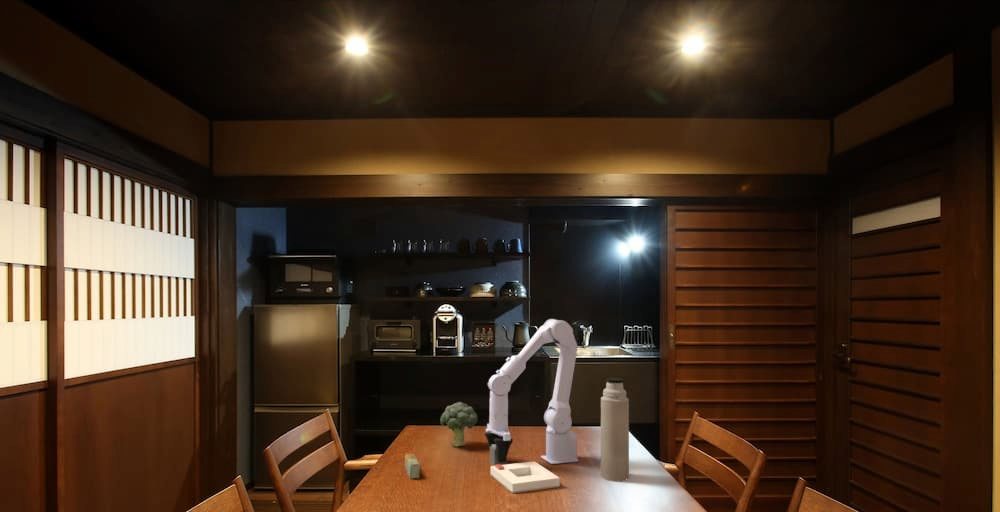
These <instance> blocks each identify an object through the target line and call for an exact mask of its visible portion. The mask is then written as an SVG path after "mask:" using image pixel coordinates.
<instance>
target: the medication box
mask: <svg viewBox="0 0 1000 512" xmlns="http://www.w3.org/2000/svg"><path fill="white" fill-rule="evenodd" d="M404 457H405V458H404V468H406V469H405V471H406V470H407V471H406V473H407V475H408V477H410V478H409V479H410V480H414V479H413V478H418V479H420V470H421V469H420V467H421V465H420V463H419V460H418V459H417V457H416V455H415V454H414V453H405V456H404ZM411 478H412V479H411Z"/></svg>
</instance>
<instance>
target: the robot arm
mask: <svg viewBox="0 0 1000 512" xmlns="http://www.w3.org/2000/svg"><path fill="white" fill-rule="evenodd" d="M575 338H576V337H575V335H574V329H573V327H572V326H571V325H570V324H569V323H568V322H567V321H565V320H561V319H560V320H559V319H556V318H555V319H554V318H549V319H547V320H546V321H545V322H544V323H543V325H541V326H540V327H539V328H538V329H537V330H536V332H535V333H534V334H533V336H532V337H531V338H530V340H529V341H528V342H527V343H526V344H525V346H524V347H523V348H522V350H521V351H519V353H518V354H517V355H516V354H515V355H511V357H510V356H508V357H507V358H506V359H505V361H506V362H505V363H504V364H503V365H502V367H500V369H497V370H496V371H495V373H496V374H493V375H491V377H490V378H489V379H488V382H487V387H488V389H489V390H490V391H489V409H488V410H489V417H488V418H489V419H488V421H489V422H488V423H487V424H486V428H485V432H484V436H485V439H486V441H487V444H488V449H489V451H490V446H492V444H496V448H497V455H498V461H499V462H506V458H507V457H508V454H509V449H510V447H511V445H512V443H513V441H514V439H513V438H511V437H512V436H511V433H510V429H509V427H508V426H509V419H508V418H509V417H508V415H509V399H508V396H509V394H508V393H509V392H510V391H511V387H512V384H513V383H514V382H515V381H516V380H517V378H519V376H520V375H521V374H522V373H523V372H524V371H525V369H527V367H526V366H527V365H526V364H527V362H528V360H529V359H530V358H531V357H533V356H534V354H535V353H536V352H537V351H538V350H539V349H540V348H541V347H542V346H543V345H545V344H549V343H555V345H556V347H558V348H559V358H558V361H557V363H558V364H557V369H556V376H555V380H554V381H555V382H554V387H553V393H552V398H551V400H550V401H549V402H548V407H547V409H546V410H545V412H544V415H543V420H544V422H545V424H546V425H547V426H546V429H545V431H546V433H545V455H544V454H543V455H541V456H540V458H541V459H543V460H544V461H546V462H547V463H549V464H551V465H558V464H565V463H566V464H567V463H574V462H579V459H578V438H577V437H578V436H577V434H576V431H574V430H571V427H572V425H573V424H572V417H571V411H572V410H571V406H570V404H569V403H570V395H571V391H572V383H573V377H574V373H575V371H574V370H575V364H576V359H577V352H578V344H577V341H576V339H575Z"/></svg>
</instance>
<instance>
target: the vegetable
mask: <svg viewBox="0 0 1000 512" xmlns="http://www.w3.org/2000/svg"><path fill="white" fill-rule="evenodd" d="M478 419H479V418H478V414H477V412H475V410H474V408H473V407H472V406H469V405H468V404H466V403H464V402H461V401H458V402H456V403H455V402H454V403H453V404H452V405H447V406H446V408H445V410H444V412H443V413H442V414H441V415H440V419H439V420H440V425H441V426H445V425H447V428H448V429H449V430H451V431H452V432H453V434H454V435H453V443H452V445H453V447H461V446H465V445H466V442H465V432H464V431H465V428H466V427H467V428H468V429H472V428H473V426H475V424H477V423H478Z"/></svg>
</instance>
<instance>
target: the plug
mask: <svg viewBox="0 0 1000 512" xmlns="http://www.w3.org/2000/svg"><path fill="white" fill-rule="evenodd" d="M489 463H490V465H491V466H495V465H497V464H501V465H505V464H508V461H507V458H506V462H499V461H498V455H497V448H496V444H492V446H490V450H489Z"/></svg>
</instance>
